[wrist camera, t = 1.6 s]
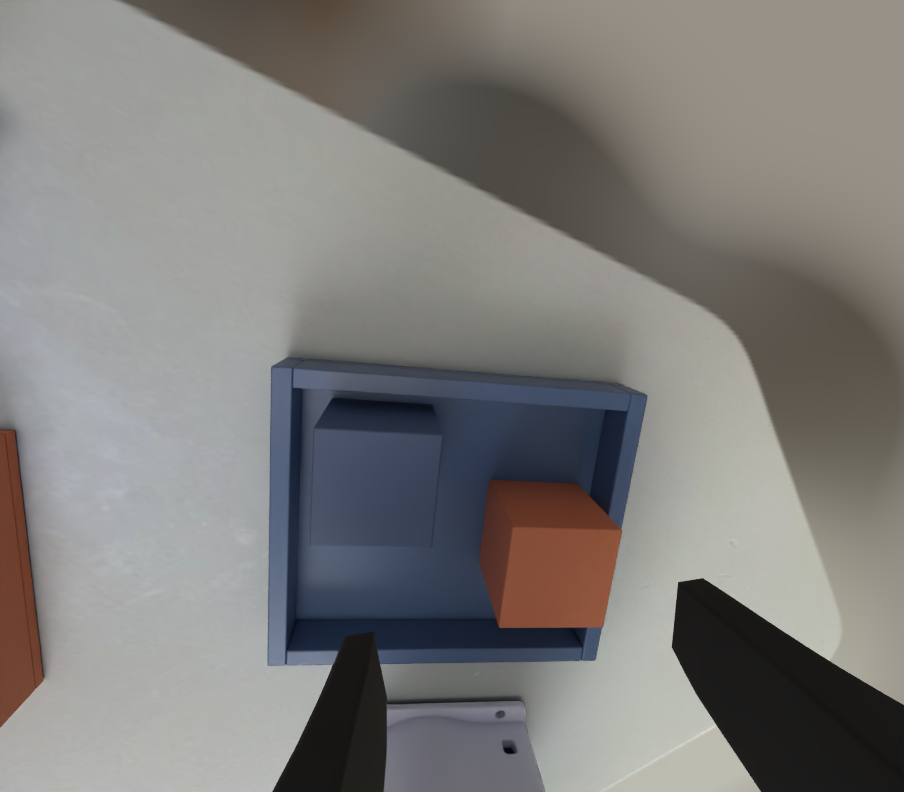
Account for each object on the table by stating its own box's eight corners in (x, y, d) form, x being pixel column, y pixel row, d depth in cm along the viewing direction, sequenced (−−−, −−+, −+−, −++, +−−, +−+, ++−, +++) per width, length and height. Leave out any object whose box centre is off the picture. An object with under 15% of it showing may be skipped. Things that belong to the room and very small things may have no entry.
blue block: (433, 404, 20) (443, 434, 16) (424, 496, 21) (432, 548, 17) (331, 397, 19) (312, 427, 15) (327, 492, 20) (308, 546, 16)
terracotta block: (577, 483, 22) (622, 530, 17) (563, 564, 23) (603, 628, 18) (488, 479, 21) (512, 526, 17) (478, 562, 22) (498, 628, 18)
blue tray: (620, 383, 21) (648, 394, 19) (576, 624, 24) (596, 661, 22) (286, 357, 19) (270, 366, 17) (281, 626, 22) (267, 666, 20)
